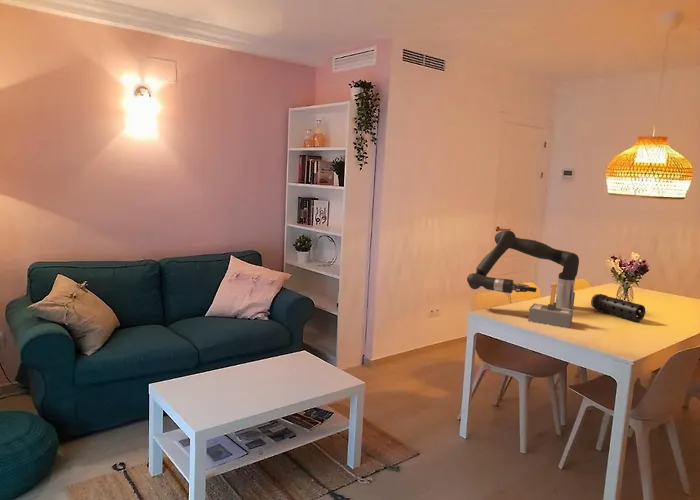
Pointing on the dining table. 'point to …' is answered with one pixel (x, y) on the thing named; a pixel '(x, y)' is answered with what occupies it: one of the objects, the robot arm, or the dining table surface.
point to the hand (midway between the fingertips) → (536, 290)
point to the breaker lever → (553, 293)
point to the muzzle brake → (618, 307)
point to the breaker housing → (550, 315)
